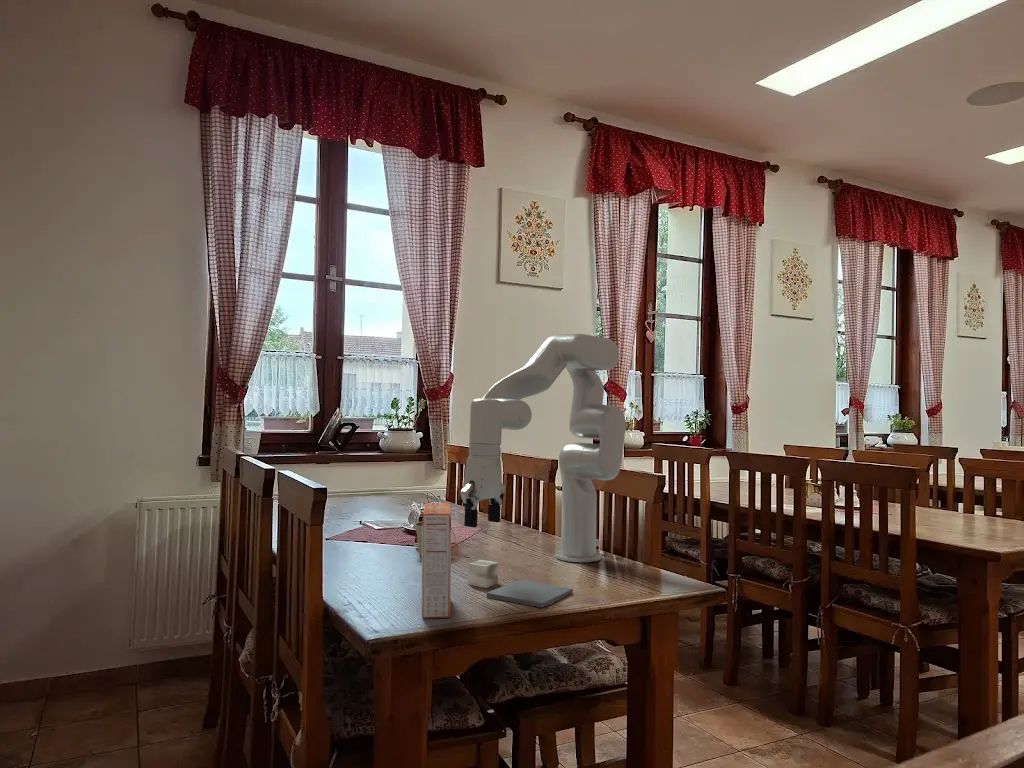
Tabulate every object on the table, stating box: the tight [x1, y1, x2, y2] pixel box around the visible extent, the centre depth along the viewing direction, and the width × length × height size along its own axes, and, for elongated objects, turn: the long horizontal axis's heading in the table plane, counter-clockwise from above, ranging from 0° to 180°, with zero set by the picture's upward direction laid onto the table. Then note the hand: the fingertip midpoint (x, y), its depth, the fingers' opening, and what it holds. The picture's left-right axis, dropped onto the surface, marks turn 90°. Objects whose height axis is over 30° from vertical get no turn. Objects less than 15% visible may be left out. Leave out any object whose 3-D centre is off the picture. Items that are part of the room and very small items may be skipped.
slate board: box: [486, 579, 574, 608], centre depth 161 cm, size 14×14×1 cm
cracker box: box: [421, 502, 452, 619], centre depth 150 cm, size 14×6×21 cm, turn 5°
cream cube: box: [467, 559, 499, 589], centre depth 170 cm, size 5×5×5 cm
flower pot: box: [413, 521, 422, 557], centre depth 200 cm, size 9×9×9 cm
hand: (482, 524), depth 170 cm, fingers open, 9 cm apart
